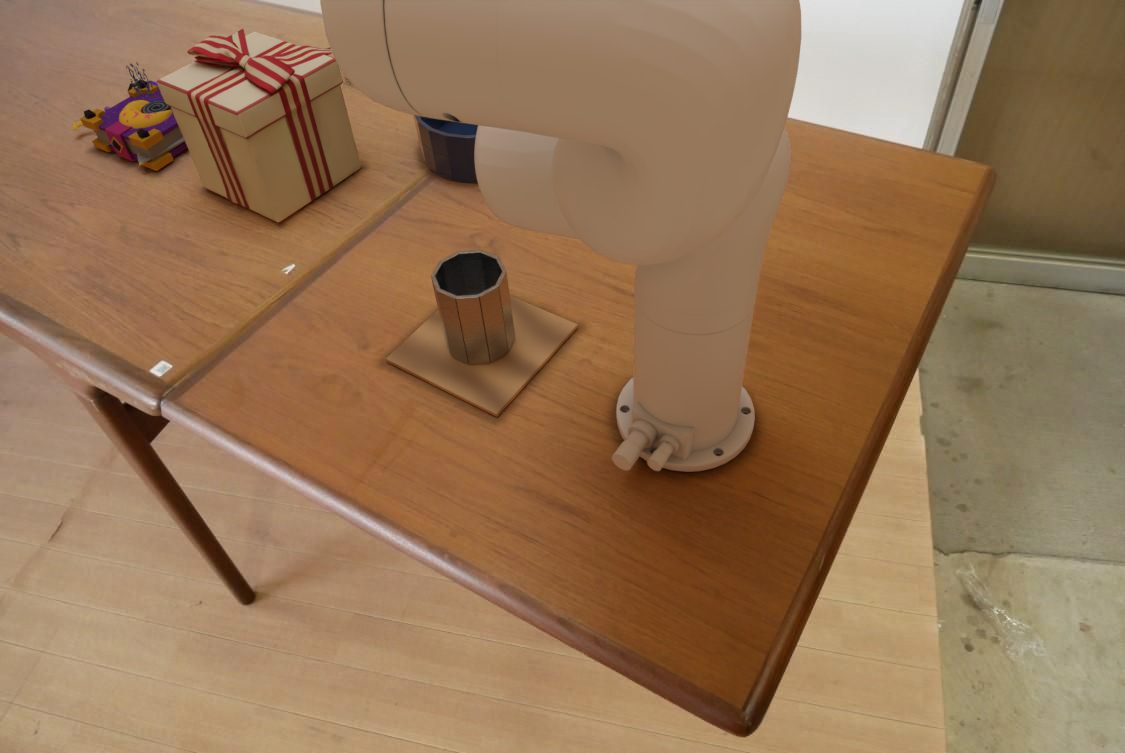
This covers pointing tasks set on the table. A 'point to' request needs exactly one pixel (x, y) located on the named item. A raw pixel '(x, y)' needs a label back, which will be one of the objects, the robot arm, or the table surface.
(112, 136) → the lego model
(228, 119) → the gift box
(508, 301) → the small pot
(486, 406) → the plate
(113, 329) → the table surface
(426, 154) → the dark blue round tub
